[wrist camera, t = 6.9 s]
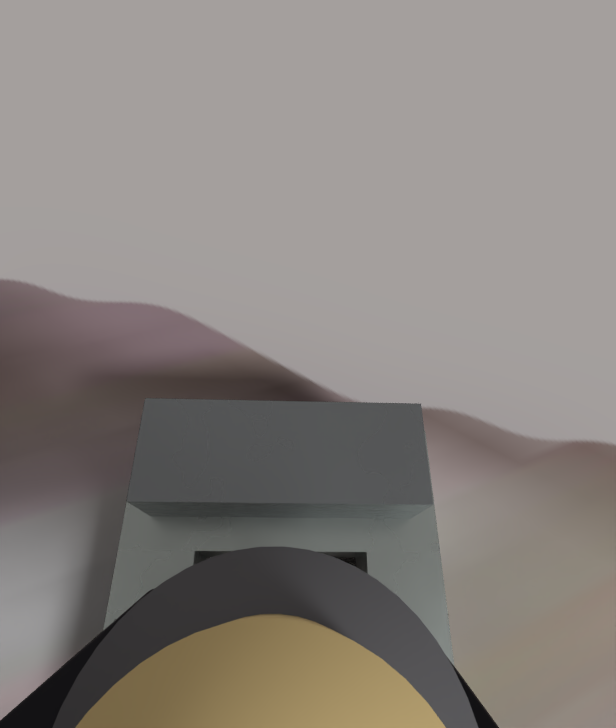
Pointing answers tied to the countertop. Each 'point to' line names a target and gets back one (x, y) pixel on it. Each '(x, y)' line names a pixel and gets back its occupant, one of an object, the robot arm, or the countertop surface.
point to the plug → (268, 653)
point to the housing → (283, 494)
